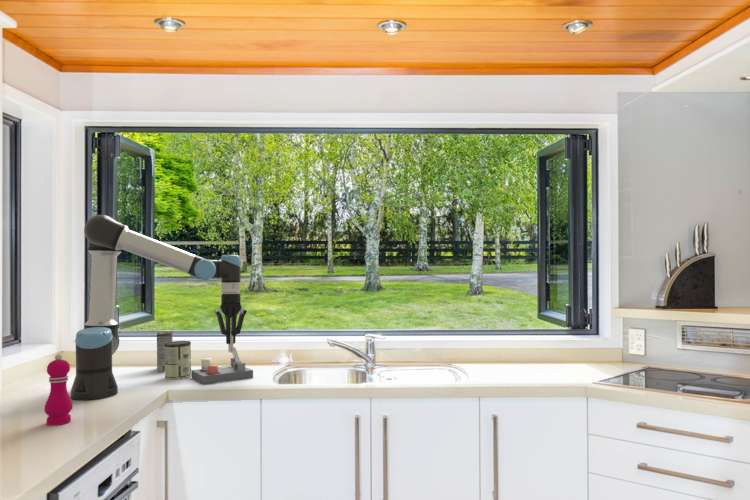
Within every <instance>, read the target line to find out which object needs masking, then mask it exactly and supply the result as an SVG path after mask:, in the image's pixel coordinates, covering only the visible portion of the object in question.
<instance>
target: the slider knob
mask: <svg viewBox="0 0 750 500" xmlns="http://www.w3.org/2000/svg"><path fill="white" fill-rule="evenodd" d="M233 362H235V359H234V357H231V358H230V366H234V365H233Z"/></svg>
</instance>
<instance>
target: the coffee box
mask: <svg viewBox="0 0 750 500" xmlns="http://www.w3.org/2000/svg"><path fill="white" fill-rule="evenodd" d="M173 341H174V339H173V331H157V333H156V371H157V373H158V372H165V346H164V343H167V342H173Z"/></svg>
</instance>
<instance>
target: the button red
mask: <svg viewBox="0 0 750 500" xmlns="http://www.w3.org/2000/svg"><path fill="white" fill-rule="evenodd" d="M218 367H219V365H218V364H212V365H209V366H208V375H212V374H218Z"/></svg>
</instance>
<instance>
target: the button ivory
mask: <svg viewBox="0 0 750 500" xmlns="http://www.w3.org/2000/svg"><path fill="white" fill-rule="evenodd" d="M200 361H201V362H200V363H201V365H200V366H201V371H202V372H205V371H208V366H209V365H213V364H212V361H213V360H212V358H211V357H210V358H209V357H207V358H206V357H205V358H202V359H200Z"/></svg>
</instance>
